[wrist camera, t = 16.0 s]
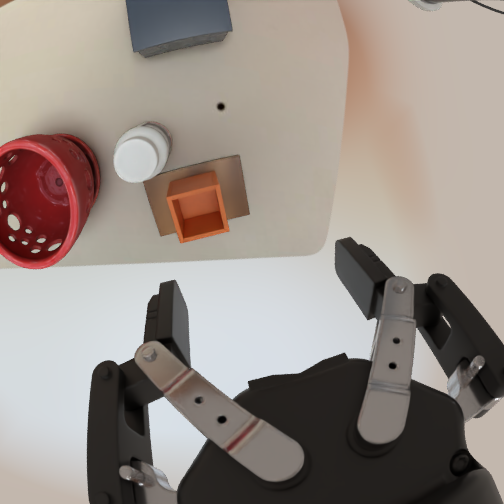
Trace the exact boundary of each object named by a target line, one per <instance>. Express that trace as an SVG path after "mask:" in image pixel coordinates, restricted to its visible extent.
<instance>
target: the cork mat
mask: <svg viewBox="0 0 504 504" xmlns="http://www.w3.org/2000/svg"><path fill="white" fill-rule="evenodd" d="M211 171H215V173H216V176H217V179H218V182H219V185H220V189H221V194H222V199H223V203H224V208H225V213H226V217H227V220H228V219H232V218H236V217H241V216H245V215H249V214H250V213H249V207H248V201H247V195H246V190H245V184H244V178H243V172H242V167H241V161H240V156H239V155H235V156H230V157H225V158H221V159H216V160H212V161H208V162H203V163H199V164H195V165H191V166H187V167H183V168H179V169H176V170H172V171H168V172H164V173H161V174H157V175H156V176H155V177H153V178H151V179H149V180H145V181H143V184H144V187H145V190H146V193H147V197H148V200H149V203H150V206H151V209H152V212H153V215H154V218H155V221H156V224H157V227H158V230H159V233H160V236H164V235H168V234H172V233H176V232H177V231H176V228H175V225H174V222H173V219H172V215H171V212H170V209H169V205H168V202H167V199H166V196H167V192H168V187H169V183H170V182H171V181H175V180H179V179H183V178H187V177H190V176H194V175H199V174H203V173H207V172H211Z"/></svg>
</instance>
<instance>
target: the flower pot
mask: <svg viewBox="0 0 504 504" xmlns="http://www.w3.org/2000/svg"><path fill="white" fill-rule="evenodd" d="M14 155H15V156H14ZM13 156H14V158H13V159H12V160H10V159H11V158H12V157H13ZM9 160H10V161H9ZM1 167H2V170H1V173H0V254H1V255H3V256H4V257H5V258H6V259H8V260H9V261H11V262H12V263H14V264H16V265H18V266H21V267H24V268H28V269H43V268H47V267H50V266H52V265H54V264H56V263H57V262H59V261H60V260H61V259H62V258H64V257H65V256H66V254H67V253H68V252H69V251H70V249H71V248H72V246H73V245H74V243H75V242H76V240H77V238H78V237H79V235H80V233H81V231H82V229H83V227H84V225H85V223H86V221H87V218H88V216H89V213H90V210H91V208H92V207H93V205H94V203H95V201H96V199H97V196H98V192H99V187H100V172H99V167H98V163H97V160H96V158H95V156H94V154H93V153H92V151H91V149H90V148H89V147H88V146H87V145H86V144H85V143H84V142H83V141H82V140H80V139H79V138H77V137H75V136H72V135H68V134H55V135H42V134H37V135H30V136H25V137H22V138H18V139H15V140H13V141H10V142H8V143H6V144H4V145H2V146H1V147H0V168H1ZM4 182H5V184H6V185H5V190H4V191H3V192H1V186H2V184H3V183H4ZM4 200H5V201H6V204H7V206H6V208H4V207H3V201H4ZM10 214H12V215H14V216H16V217H17V219H18V220H19V223H20V228H19V229H18V230H13V229H12V228H11V227H10V226H9V225H8V216H9V215H10ZM26 229H29V230H31V231H32V233H30V234H29V233H26V231H25V230H26ZM9 236H12V237H13V238H14V239H15V241H11V240H10V239H9ZM40 238H45V239H46V241H45V242H43V243H38V242H37V240H38V239H40ZM22 241H25V242H28V244H27V245H24V244H22ZM57 243H61V245H60V246H59V247H58V248H56V249H55V250H52V251H48V249H49V248H50V247H51V246H52V245H54V244H57ZM34 249H39V250H41V251H39V252H38V253H32V252H31V251H32V250H34Z"/></svg>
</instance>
